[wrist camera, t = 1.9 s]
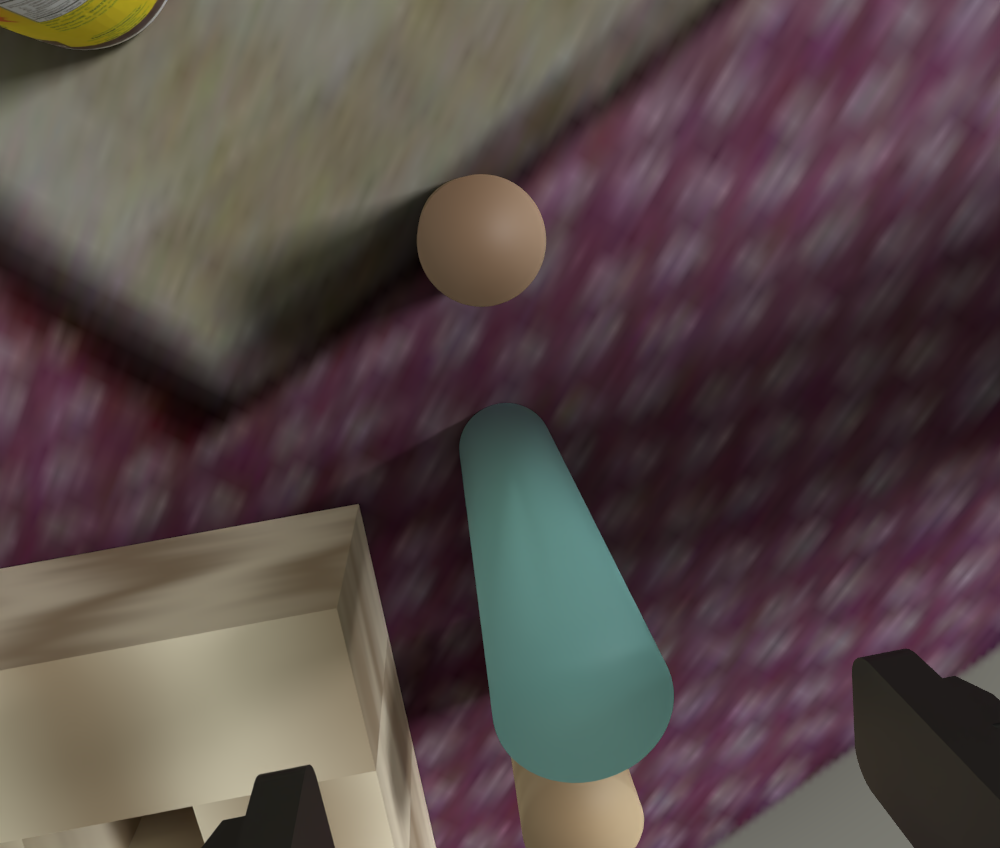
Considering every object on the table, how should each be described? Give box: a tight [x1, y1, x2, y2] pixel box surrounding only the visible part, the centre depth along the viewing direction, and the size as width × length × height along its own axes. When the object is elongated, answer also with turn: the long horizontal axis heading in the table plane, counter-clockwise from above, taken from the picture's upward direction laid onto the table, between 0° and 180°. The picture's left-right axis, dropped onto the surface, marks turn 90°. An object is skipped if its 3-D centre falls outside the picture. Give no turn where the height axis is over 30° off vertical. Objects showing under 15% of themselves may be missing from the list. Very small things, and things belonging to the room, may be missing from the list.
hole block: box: [0, 504, 436, 848], centre depth 25 cm, size 14×14×7 cm
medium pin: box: [511, 757, 644, 848], centre depth 25 cm, size 3×3×9 cm
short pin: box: [417, 174, 546, 307], centre depth 22 cm, size 3×3×6 cm
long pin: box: [459, 403, 674, 783], centre depth 20 cm, size 3×3×14 cm
